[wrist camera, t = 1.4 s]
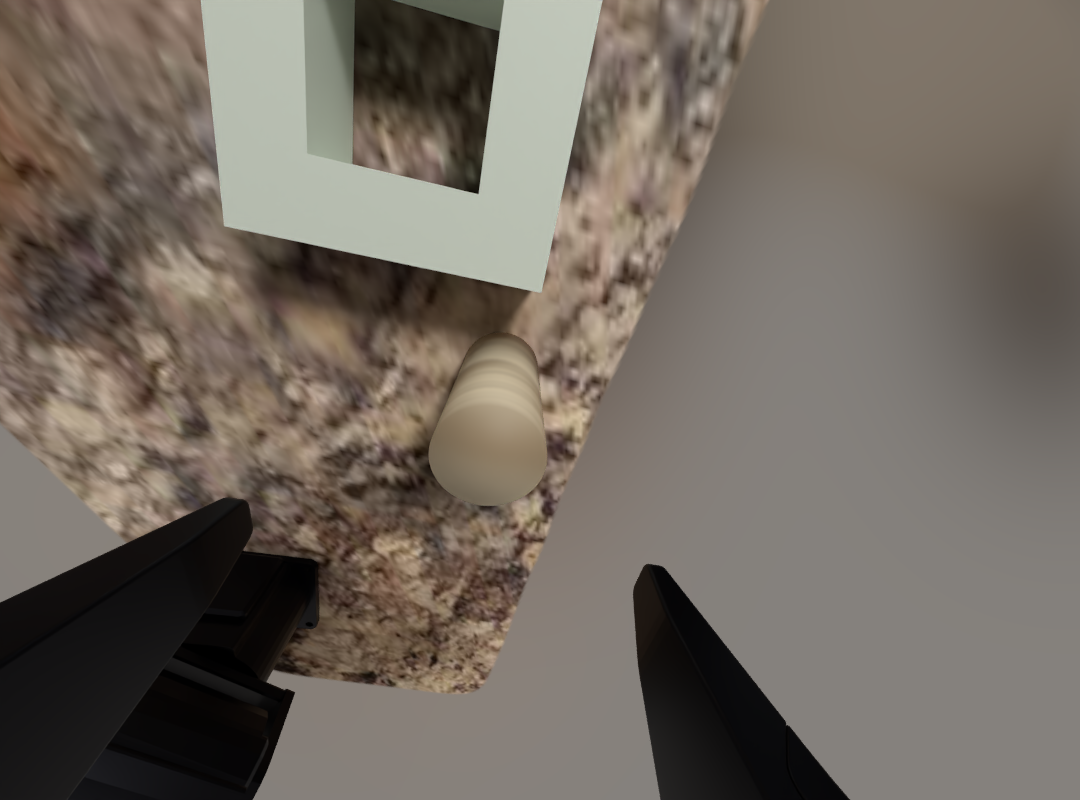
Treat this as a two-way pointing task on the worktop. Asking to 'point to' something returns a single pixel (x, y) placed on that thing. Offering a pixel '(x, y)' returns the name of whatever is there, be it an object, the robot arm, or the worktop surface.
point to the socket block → (379, 197)
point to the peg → (492, 425)
